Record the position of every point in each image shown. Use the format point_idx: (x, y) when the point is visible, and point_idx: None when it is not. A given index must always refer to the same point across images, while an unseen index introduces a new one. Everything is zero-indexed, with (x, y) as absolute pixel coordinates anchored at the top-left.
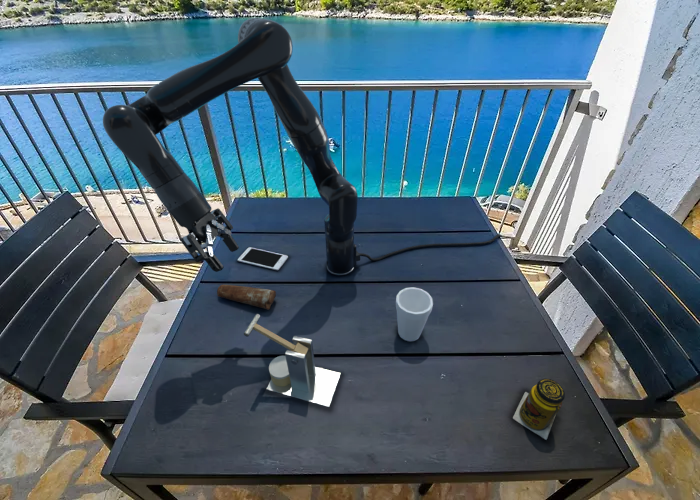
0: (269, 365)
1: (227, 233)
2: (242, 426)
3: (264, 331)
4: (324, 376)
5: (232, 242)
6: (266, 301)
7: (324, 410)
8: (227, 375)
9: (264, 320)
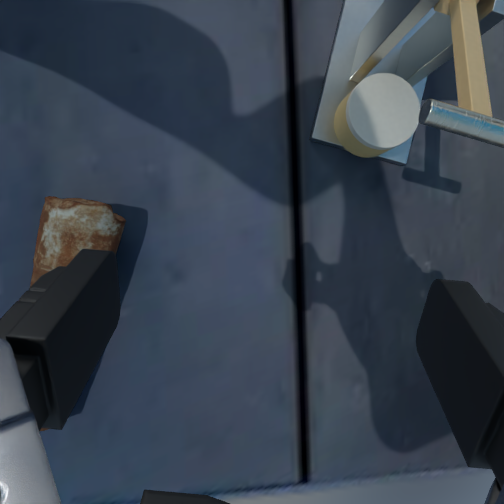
0: (383, 147)
1: (16, 374)
2: (486, 205)
3: (482, 77)
4: (366, 7)
5: (82, 302)
6: (112, 215)
7: None
8: (360, 283)
9: (162, 225)
